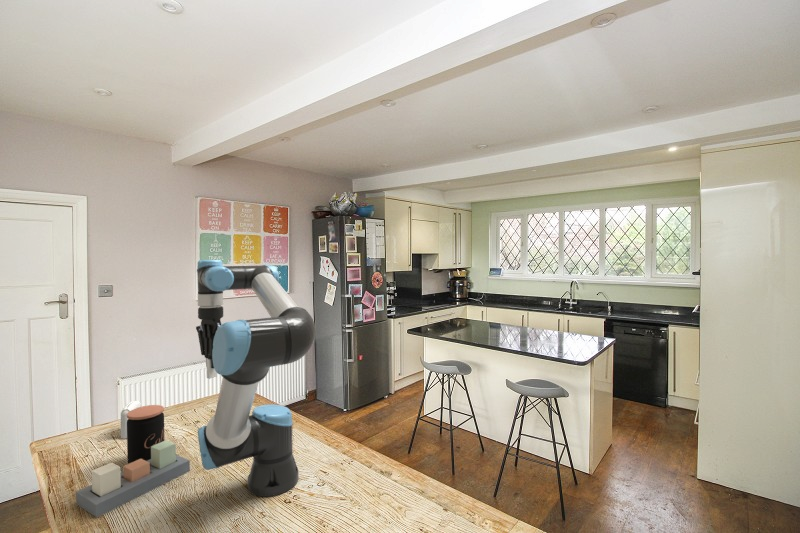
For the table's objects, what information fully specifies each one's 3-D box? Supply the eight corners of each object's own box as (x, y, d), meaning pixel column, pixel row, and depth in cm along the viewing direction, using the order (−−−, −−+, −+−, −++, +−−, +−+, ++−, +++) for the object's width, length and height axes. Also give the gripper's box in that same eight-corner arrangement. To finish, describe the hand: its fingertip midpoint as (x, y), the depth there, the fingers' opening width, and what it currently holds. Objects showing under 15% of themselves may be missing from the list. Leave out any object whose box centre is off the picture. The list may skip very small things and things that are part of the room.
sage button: (175, 461, 126) (175, 443, 125) (159, 469, 121) (159, 450, 121) (167, 457, 128) (166, 440, 128) (151, 464, 124) (150, 446, 124)
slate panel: (189, 470, 126) (189, 460, 126) (96, 517, 103) (96, 504, 103) (168, 461, 132) (168, 451, 132) (76, 503, 109) (75, 491, 109)
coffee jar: (146, 473, 125) (145, 418, 124) (119, 469, 127) (118, 415, 127) (172, 456, 135) (171, 405, 135) (146, 453, 137) (145, 403, 137)
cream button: (120, 487, 112) (120, 466, 112) (100, 496, 107) (100, 475, 107) (112, 482, 114) (111, 462, 114) (92, 491, 110) (91, 470, 110)
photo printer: (131, 428, 158) (131, 398, 158) (143, 427, 159) (142, 397, 159) (119, 439, 148) (118, 408, 148) (131, 438, 149) (131, 407, 148)
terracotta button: (150, 481, 119) (149, 462, 119) (132, 490, 114) (131, 470, 114) (141, 477, 121) (140, 458, 121) (123, 485, 117) (123, 466, 117)
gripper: (233, 306, 127) (234, 377, 127) (208, 304, 133) (209, 371, 134) (212, 308, 120) (213, 383, 121) (187, 306, 127) (189, 377, 127)
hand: (211, 377), depth 127 cm, fingers closed
